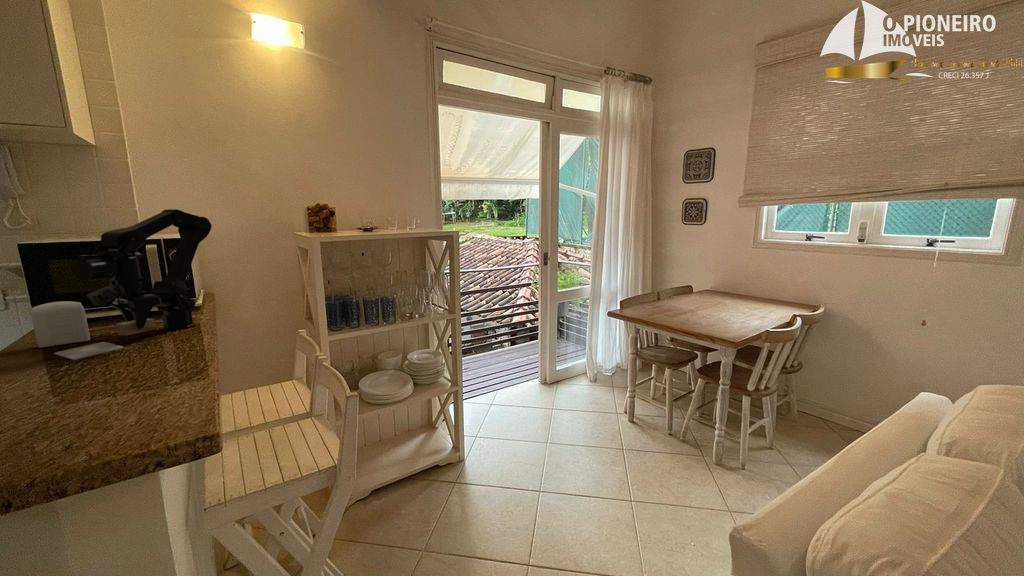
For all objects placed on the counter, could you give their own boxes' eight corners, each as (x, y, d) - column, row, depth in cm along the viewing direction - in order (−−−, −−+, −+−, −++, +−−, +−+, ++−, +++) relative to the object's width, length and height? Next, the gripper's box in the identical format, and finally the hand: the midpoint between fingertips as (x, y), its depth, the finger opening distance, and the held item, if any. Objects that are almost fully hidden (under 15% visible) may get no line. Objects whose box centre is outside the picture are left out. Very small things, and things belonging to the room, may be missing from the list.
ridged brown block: (147, 327, 121) (145, 317, 120) (155, 328, 119) (154, 318, 119) (118, 333, 115) (115, 323, 114) (126, 335, 113) (124, 324, 112)
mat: (103, 342, 115) (103, 341, 115) (123, 348, 111) (123, 346, 111) (54, 354, 106) (54, 352, 106) (74, 360, 102) (73, 358, 102)
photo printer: (91, 337, 120) (82, 298, 117) (90, 341, 117) (81, 300, 114) (39, 345, 113) (29, 303, 110) (37, 349, 110) (26, 306, 107)
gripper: (71, 277, 110) (83, 330, 113) (106, 282, 103) (117, 339, 106) (123, 271, 120) (132, 321, 123) (157, 275, 113) (166, 328, 116)
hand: (136, 327), depth 117 cm, fingers closed on ridged brown block, 4 cm apart
